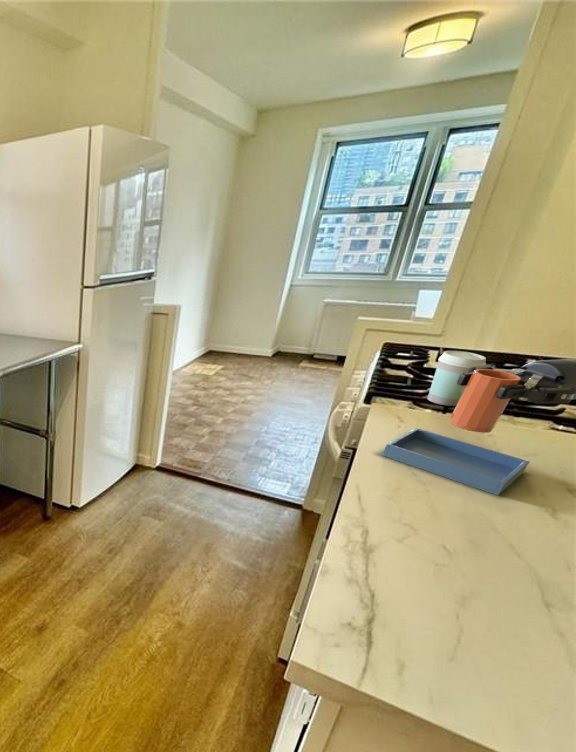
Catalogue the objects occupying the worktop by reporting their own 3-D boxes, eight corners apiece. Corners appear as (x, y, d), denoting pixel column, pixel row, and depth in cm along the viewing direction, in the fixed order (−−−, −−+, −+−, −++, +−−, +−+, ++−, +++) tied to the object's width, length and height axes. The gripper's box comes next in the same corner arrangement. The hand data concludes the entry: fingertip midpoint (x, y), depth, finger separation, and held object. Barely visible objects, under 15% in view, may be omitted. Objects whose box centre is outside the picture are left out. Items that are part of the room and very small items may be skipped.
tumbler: (496, 427, 89) (525, 375, 84) (485, 435, 86) (514, 382, 81) (455, 416, 93) (481, 366, 88) (443, 423, 90) (469, 372, 85)
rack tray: (522, 473, 90) (530, 461, 89) (497, 495, 83) (505, 483, 82) (411, 438, 103) (416, 427, 101) (381, 455, 96) (386, 444, 95)
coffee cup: (459, 410, 116) (484, 362, 110) (415, 400, 122) (436, 353, 116) (469, 403, 120) (493, 356, 115) (426, 392, 126) (447, 348, 121)
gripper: (523, 348, 92) (448, 353, 90) (623, 373, 80) (539, 379, 77) (502, 385, 96) (430, 391, 93) (595, 415, 83) (515, 422, 81)
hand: (480, 386), depth 85 cm, fingers closed on tumbler, 6 cm apart
